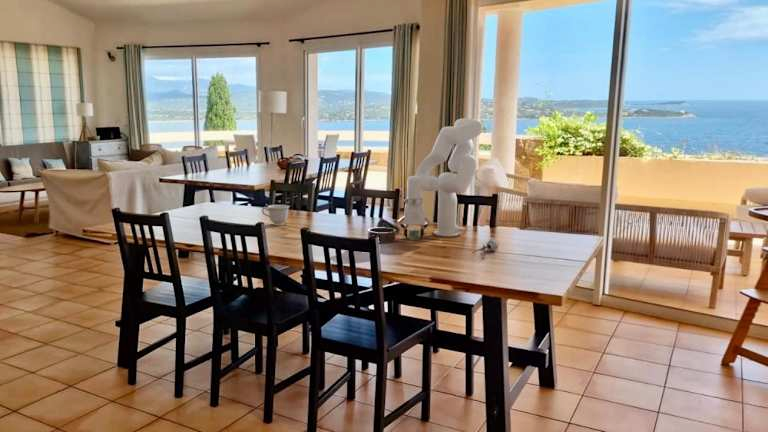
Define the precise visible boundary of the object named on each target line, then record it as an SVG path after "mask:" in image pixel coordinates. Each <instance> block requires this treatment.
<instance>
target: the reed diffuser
mask: <svg viewBox="0 0 768 432" xmlns="http://www.w3.org/2000/svg"><path fill="white" fill-rule="evenodd" d="M499 247H500V243H499V242H498V241H497V240H496V239H489V240H488V241H487V243H486V245H485V244H482V248H479V249H477V250H475V251H472V253H476V252H478V251H481V250H485V249H486V251H485V253H484V255H483V257H482V259H485V256H486V255H487V253H488V251H490V252H492V251H496V250H498V249H499Z"/></svg>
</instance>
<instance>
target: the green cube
mask: <svg viewBox="0 0 768 432" xmlns="http://www.w3.org/2000/svg"><path fill="white" fill-rule="evenodd" d="M408 239H409V240H412V241H415V240H420V229H419V228H408Z"/></svg>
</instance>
